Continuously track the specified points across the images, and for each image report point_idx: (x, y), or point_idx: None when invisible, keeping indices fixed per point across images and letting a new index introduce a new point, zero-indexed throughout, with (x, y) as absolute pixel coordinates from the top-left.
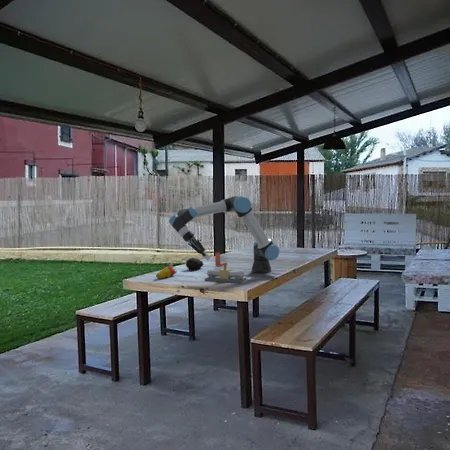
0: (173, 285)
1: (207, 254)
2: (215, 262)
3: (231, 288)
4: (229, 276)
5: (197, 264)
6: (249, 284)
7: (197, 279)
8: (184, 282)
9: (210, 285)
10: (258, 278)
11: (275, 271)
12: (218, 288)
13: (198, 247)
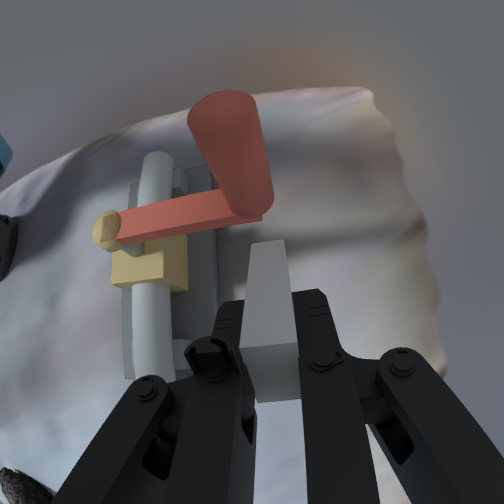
0: None
1: (252, 279)
2: (261, 202)
3: (352, 136)
4: None
5: (26, 487)
6: None
7: None
8: None
9: (350, 256)
10: (98, 174)
11: (6, 213)
12: (388, 178)
13: (373, 485)
